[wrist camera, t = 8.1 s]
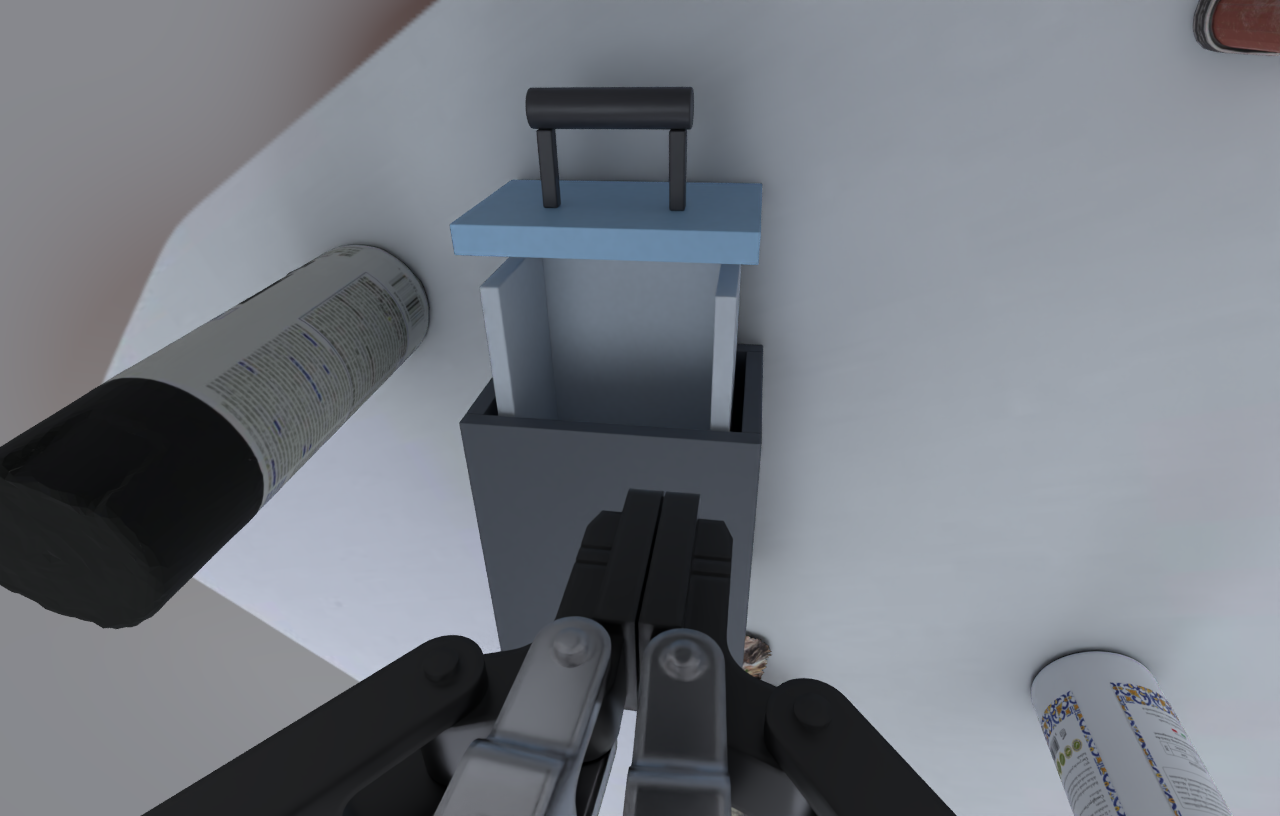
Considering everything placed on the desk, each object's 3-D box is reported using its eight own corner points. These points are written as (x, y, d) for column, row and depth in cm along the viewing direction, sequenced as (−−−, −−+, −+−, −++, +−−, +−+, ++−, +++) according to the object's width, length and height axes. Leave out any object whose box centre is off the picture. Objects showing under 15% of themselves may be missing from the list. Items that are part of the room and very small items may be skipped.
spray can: (326, 217, 35) (-86, 426, 18) (449, 275, 36) (160, 529, 19) (308, 324, 39) (-52, 582, 22) (420, 375, 39) (155, 665, 22)
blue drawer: (499, 75, 29) (428, 97, 23) (769, 74, 28) (770, 96, 22) (539, 427, 39) (495, 509, 32) (744, 441, 37) (739, 531, 31)
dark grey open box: (523, 333, 37) (458, 422, 29) (763, 344, 35) (761, 444, 27) (548, 540, 44) (501, 656, 36) (746, 559, 42) (741, 685, 35)
